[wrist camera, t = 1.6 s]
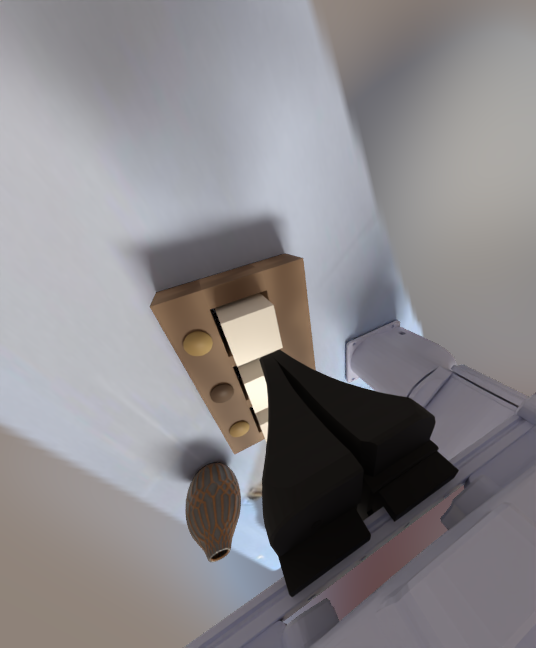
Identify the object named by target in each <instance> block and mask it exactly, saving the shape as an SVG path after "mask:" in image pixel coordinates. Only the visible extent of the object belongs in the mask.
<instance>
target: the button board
mask: <svg viewBox="0 0 536 648" xmlns="http://www.w3.org/2000/svg"><path fill="white" fill-rule="evenodd" d="M257 293H260V294H262V295H263V296H264V297H265V298H266V299H267V300H268V301H270V302H271V303H272V304H273V305H274V309H275V314H276V319H277V323H278V328H279V333H280V337H281V342H282V347H283V348H281V349H279V350H281V351H283V352H284V353H286V354H287V355H289V356H291V357H292V358H294V359H295V360H297V361H299V362H301V363H302V364H304V365H306V366H308V367H310V368H312V369H314V370H316V369H315V360H314V351H313V342H312V333H311V324H310V316H309V307H308V298H307V289H306V280H305V271H304V262H303V258H300V257H297V256H293V255H289V254H281V255H278V256H275V257H271V258H268V259H265V260H261V261H258V262H255V263H252V264H248V265H245V266H242V267H238V268H235V269H232V270H229V271H225V272H222V273H219V274H215V275H212V276H209V277H205V278H202V279H199V280H196V281H192V282H189V283H186V284H182V285H179V286H176V287H173V288H169V289H166V290H163V291H159V292H156V294H155V296H154V298H153V301H152V303H151V305H150V308H151V310H152V311H153V313H154V315H155V317H156V318H157V320H158V322H159V324H160V325H161V327H162V329H163V331H164V332H165V334H166V336H167V338H168V339H169V341H170V343H171V345H172V346H173V348H174V350H175V352H176V353H177V355H178V357H179V359H180V360H181V362H182V364H183V366H184V367H185V369H186V371H187V372H188V374H189V376H190V378H191V379H192V381H193V383H194V385H195V386H196V388H197V390H198V392H199V393H200V395H201V397H202V399H203V400H204V402H205V404H206V406H207V407H208V409H209V411H210V413H211V414H212V416H213V418H214V420H215V421H216V423H217V425H218V427H219V428H220V430H221V432H222V434H223V435H224V437H225V439H226V441H227V442H228V444H229V446H230V448H231V449H232V451H233V453H234V454H236V453H238V452H240V451H242V450H244V449H246V448H248V447H250V446H252V445H254V444H256V443H258V442H260V441H261V440H263V439H265V437H264V435H263V432H262V430H261V427H260V424H259V422H258V419H257V417H256V414H255V412H254V409H252V410H251V409H250V407H252V404H251V401H250V399H249V396H248V393H247V391H246V388H245V386H244V383H243V380H242V378H239V379H238V376H237V374H236V371H235V369H234V366H236V362H235V360H234V357H233V355H232V352H231V349H230V347H229V344H228V342H227V339H226V337H225V338H222V336H221V334H220V331H219V329H218V326H217V324H216V321H215V319H214V316H213V314H212V311H211V309H213V308H216V307H219V306H222V305H225V304H228V303H231V302H234V301H236V300H239V299H242V298H245V297H248V296H251V295H254V294H257ZM276 351H277V350H276Z"/></svg>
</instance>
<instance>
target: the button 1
mask: <svg viewBox="0 0 536 648" xmlns="http://www.w3.org/2000/svg"><path fill="white" fill-rule="evenodd" d="M215 310H216V313H217V316H218V318H219V321H220V324H221V326H222V329H223V331H224V334H225V337H226V339H227V342H228V344H229V347H230V349H231V352H232V355H233V357H234V360H235V362H236V365H237V367H238V366H240V365H243V364H245V363H248V362H250V361H252V360H255V359H257V358H260V357H262V356H264V355H267V354H269V353H271V352H274V351H276V350H279V349H281V348H283V347H282V342H281V337H280V333H279V328H278V323H277V319H276V314H275V309H274V305H273V304H272V303H271V302H270V301H268V300H267V299H266V298H265V297H264V296H263V295H262V294H260V293H257V294H254V295H251V296H248V297H245V298H242V299H239V300H236V301H234V302H231V303H228V304H225V305H222V306H219V307H216V308H215Z"/></svg>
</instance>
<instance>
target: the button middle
mask: <svg viewBox="0 0 536 648" xmlns="http://www.w3.org/2000/svg"><path fill="white" fill-rule="evenodd" d="M274 352H275V351H274ZM271 353H273V352H271ZM269 354H270V353H269ZM267 355H268V354H267ZM264 356H265V355H264ZM262 357H263V356H262ZM260 358H261V357H260ZM260 358H257V359H255V360H252V361H250V362H248V363H245V364H243V365H240V366H238V370H239V372H240V375H241V378H242V380H243V383H244V386H245V388H246V391H247V393H248V396H249V399H250V401H251V404H252V406H253V409H254V412H255V413H257V412H259V411H261V410H263V409H265V408H267V407H268V395H267V385H266V381H265V377H264V374H263V371H262V368H261V364H260V361H259V359H260Z"/></svg>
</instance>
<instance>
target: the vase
mask: <svg viewBox="0 0 536 648" xmlns="http://www.w3.org/2000/svg"><path fill="white" fill-rule="evenodd" d="M240 507H241V495H240V489H239V484H238V481H237V479H236V476H235V474H234V473H233V471H232V470H231V469H230V468H229V467H228V466H226V465H224V464H222V463H212V464H209V465H207V466H205V467H203V468H202V469H201V470H200V471H199V472H198V473H197V474H196V476H195V477H194V478H193V480H192V482H191V484H190V487H189V489H188V493H187V498H186V521H187V525H188V529H189V531H190V534H191V535H192V537H193V539H194V540H195V541H196V542H197V544H198V545H199V546H200V547H201V548H202V549H203V550H204V552H205V554H206V556H207V558H208V561H210V562H215V561H218V560H220V559H222V558H224V557H225V556H226V555H227V554H228V553H229V552H230V550H231V543H232V537H233V534H234V531H235V528H236V525H237V522H238V519H239V515H240Z"/></svg>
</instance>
